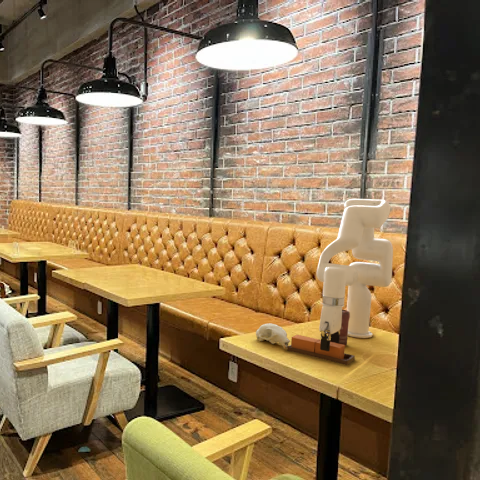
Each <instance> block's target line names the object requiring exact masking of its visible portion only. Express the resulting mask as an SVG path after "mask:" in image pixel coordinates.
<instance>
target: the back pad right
mask: <svg viewBox="0 0 480 480" xmlns="http://www.w3.org/2000/svg"><path fill="white" fill-rule="evenodd" d="M320 344H321V339H319V341H317V342H316V343H315V353H318V354H322V355H326V356H331V357H335V358H339V359H344V353H345V350H346V346H345V345H343V344H338V343H334V342H330V351H324V350H321V349H320Z"/></svg>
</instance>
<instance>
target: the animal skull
mask: <svg viewBox="0 0 480 480" xmlns="http://www.w3.org/2000/svg"><path fill="white" fill-rule="evenodd" d="M255 337H256V340H257V341H259V342H264V341H265V340H266V342H269V343H271V344H272V345H275V344H276V343H277V344H279V345H281V346H282V347H283V349H284V350H287V347H288V346H289V344H290V343H291V341H290V339H289V338H288V334H287V331H286V330H285V329H284V328H283V327H282V326H279V324H275V323H270V322H269V323H264V324H262V325H260V326H259V328H258V329H256V330H255Z"/></svg>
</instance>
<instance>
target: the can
mask: <svg viewBox="0 0 480 480" xmlns="http://www.w3.org/2000/svg"><path fill="white" fill-rule="evenodd" d="M349 319H350V312H349V311H347V309H342V323H341V329H340V340H339V344H343V345H345V347H346V346H347V345H348V337H349V336H348V324H349ZM338 335H339V334H338Z"/></svg>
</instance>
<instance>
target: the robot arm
mask: <svg viewBox="0 0 480 480" xmlns="http://www.w3.org/2000/svg"><path fill="white" fill-rule="evenodd" d="M390 214H391V205H390V203H389V201H388V200H386V199H372V198H371V199H370V198H349V199H347V200H345V202H344V205H343V212H342V218H341V221H340V225H339V228H338V229H339V230H338V234H337V237H336V239H334V240H333V241H332V242H331V243H329V244H328V245H327V246H326V247H325V248H324V249H323V250H322V251H321V253H320V256H319V258H318V259H319V260H318V263H317V267H316V278H317V280H318V281H319V282H321V283H323V284H322V285H323V286H322V298H321V305H322V307H321V311H320V317H319V318H320V319H319V329H318V330H319V332H320V340H321V344H320V349H321V350H324V351H330V342H334V343H338V344H339V340H340V329H341V323H342V310H343V308H344V307H345V296H346V287H347V298H346V299H347V301H346V311H349V312H350V319H349V324H348V336H347V337H352V338H358V339H368V338H369V339H370V338H372V337H373V332H372V331H370V320H371V308H372V292H371V291H370V289H369V288H368V287H367V286H371V287H379V288H386V287H389V286H390V285H391V283H392V277H393V263H394V261H393V258H394V247H393V246H394V245H393V243H392V241H390V240H389V239H387V238H377V237H375V229H380V228H381V227H383V225H384V224H385V222H386V221H387V220H388V218H389V216H390ZM348 251H351V254H352V257H353V258H354V259H357V260H362V261H354V262H351V263H349V264H348V265H347V264H340V263H329V262H330V260H331V259H332V258H334V256H337V255H338V254H341V253H344V252H348ZM365 261H371V262H365ZM375 262H378V263H375ZM338 334H339V335H338Z"/></svg>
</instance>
